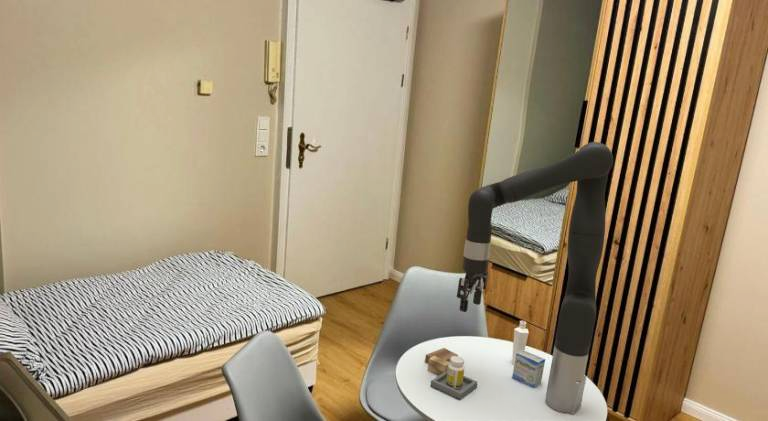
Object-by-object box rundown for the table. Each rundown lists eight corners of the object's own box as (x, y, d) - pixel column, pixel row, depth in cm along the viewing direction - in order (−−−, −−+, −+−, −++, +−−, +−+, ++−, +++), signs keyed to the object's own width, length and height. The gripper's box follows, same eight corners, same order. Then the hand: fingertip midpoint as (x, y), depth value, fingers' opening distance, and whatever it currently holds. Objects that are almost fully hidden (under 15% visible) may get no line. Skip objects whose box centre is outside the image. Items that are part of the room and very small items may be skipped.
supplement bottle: (461, 382, 163) (465, 356, 161) (462, 390, 159) (465, 364, 157) (445, 380, 164) (449, 354, 162) (445, 388, 159) (449, 361, 157)
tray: (476, 387, 162) (477, 381, 162) (459, 400, 154) (460, 394, 154) (448, 375, 168) (448, 369, 168) (430, 386, 160) (431, 380, 160)
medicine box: (511, 378, 170) (515, 352, 168) (518, 374, 173) (522, 348, 171) (534, 389, 165) (538, 362, 163) (541, 384, 168) (545, 358, 166)
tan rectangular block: (449, 374, 168) (450, 362, 168) (443, 377, 166) (445, 365, 165) (432, 367, 172) (434, 355, 171) (427, 370, 170) (428, 358, 169)
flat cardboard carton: (456, 363, 177) (458, 355, 176) (438, 371, 171) (439, 362, 170) (442, 356, 181) (443, 347, 180) (424, 363, 175) (425, 354, 174)
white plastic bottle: (508, 360, 182) (515, 318, 179) (521, 362, 181) (528, 320, 178) (509, 366, 177) (516, 323, 174) (523, 368, 177) (530, 325, 174)
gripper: (476, 263, 151) (470, 317, 155) (498, 254, 163) (492, 305, 166) (453, 256, 156) (447, 310, 159) (476, 248, 167) (470, 298, 170)
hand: (470, 307), depth 162 cm, fingers open, 8 cm apart
